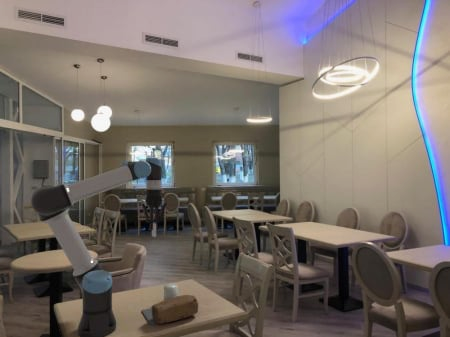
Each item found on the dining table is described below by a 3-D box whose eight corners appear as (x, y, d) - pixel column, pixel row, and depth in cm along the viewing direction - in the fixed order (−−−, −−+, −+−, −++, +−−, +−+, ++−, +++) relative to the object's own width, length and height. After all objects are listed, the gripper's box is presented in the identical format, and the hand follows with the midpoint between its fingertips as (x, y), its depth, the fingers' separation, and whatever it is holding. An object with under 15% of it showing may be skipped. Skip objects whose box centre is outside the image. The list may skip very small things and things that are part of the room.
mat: (150, 325, 147) (150, 323, 147) (141, 311, 161) (141, 310, 161) (189, 316, 155) (189, 315, 155) (177, 304, 169) (177, 303, 169)
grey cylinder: (166, 305, 168) (166, 289, 168) (162, 300, 174) (162, 285, 174) (179, 302, 171) (179, 286, 171) (174, 298, 178) (174, 282, 178)
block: (199, 298, 155) (158, 310, 144) (199, 315, 155) (158, 327, 144) (188, 291, 164) (149, 301, 153) (188, 306, 164) (149, 317, 153)
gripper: (142, 189, 161) (142, 238, 161) (168, 188, 167) (168, 236, 167) (139, 188, 168) (139, 236, 168) (164, 188, 174) (164, 233, 174)
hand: (153, 236), depth 168 cm, fingers closed
